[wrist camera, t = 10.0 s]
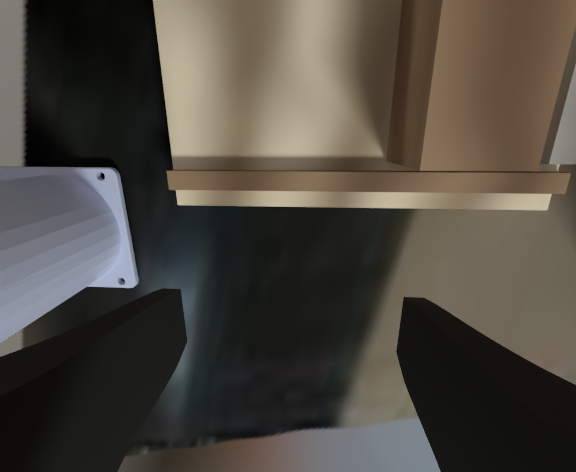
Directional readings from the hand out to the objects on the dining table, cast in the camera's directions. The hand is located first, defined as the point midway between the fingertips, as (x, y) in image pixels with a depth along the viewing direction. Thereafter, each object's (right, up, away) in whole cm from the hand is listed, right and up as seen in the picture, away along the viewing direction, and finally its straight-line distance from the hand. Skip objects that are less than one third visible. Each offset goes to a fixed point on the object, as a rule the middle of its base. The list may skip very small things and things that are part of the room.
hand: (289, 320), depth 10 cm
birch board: (+4, +11, +6) cm, 13 cm away
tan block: (+7, +11, +4) cm, 14 cm away
